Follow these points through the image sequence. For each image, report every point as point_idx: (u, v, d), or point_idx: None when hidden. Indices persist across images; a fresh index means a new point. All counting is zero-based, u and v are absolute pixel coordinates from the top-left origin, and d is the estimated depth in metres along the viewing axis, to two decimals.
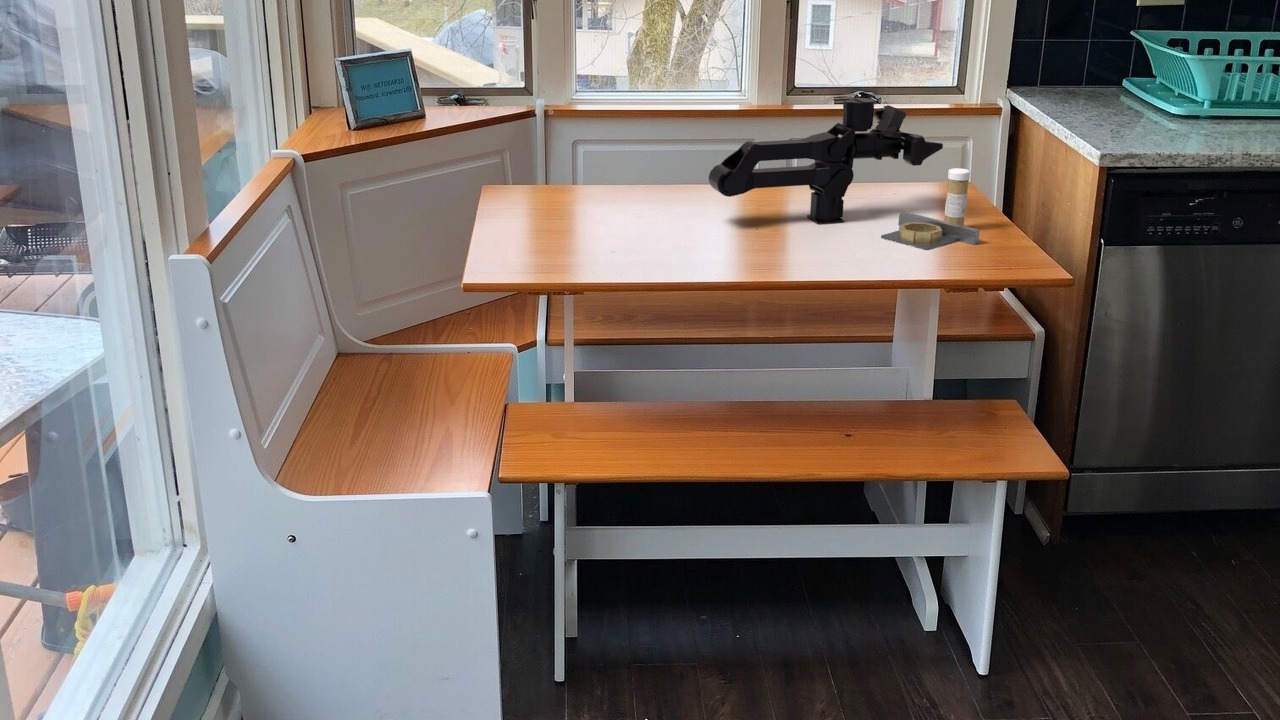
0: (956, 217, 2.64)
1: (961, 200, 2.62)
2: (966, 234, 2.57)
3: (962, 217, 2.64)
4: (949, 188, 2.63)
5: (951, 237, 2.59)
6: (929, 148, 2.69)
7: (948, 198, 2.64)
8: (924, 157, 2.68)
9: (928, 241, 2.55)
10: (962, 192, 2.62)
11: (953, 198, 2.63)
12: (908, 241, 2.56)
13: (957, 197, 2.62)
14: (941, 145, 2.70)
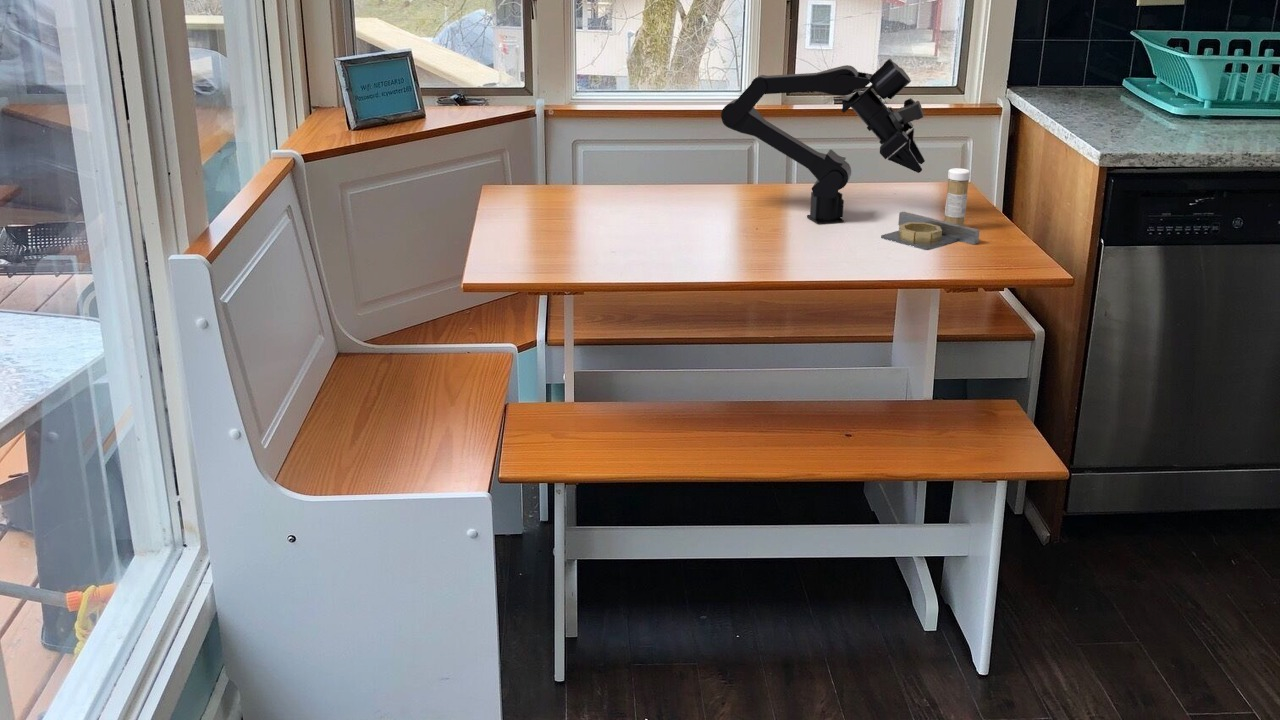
0: (956, 217, 2.64)
1: (961, 200, 2.62)
2: (966, 234, 2.57)
3: (962, 217, 2.64)
4: (949, 188, 2.63)
5: (951, 237, 2.59)
6: (907, 159, 2.59)
7: (948, 198, 2.64)
8: (896, 161, 2.59)
9: (928, 241, 2.55)
10: (962, 192, 2.62)
11: (953, 198, 2.63)
12: (908, 241, 2.56)
13: (957, 197, 2.62)
14: (919, 169, 2.60)
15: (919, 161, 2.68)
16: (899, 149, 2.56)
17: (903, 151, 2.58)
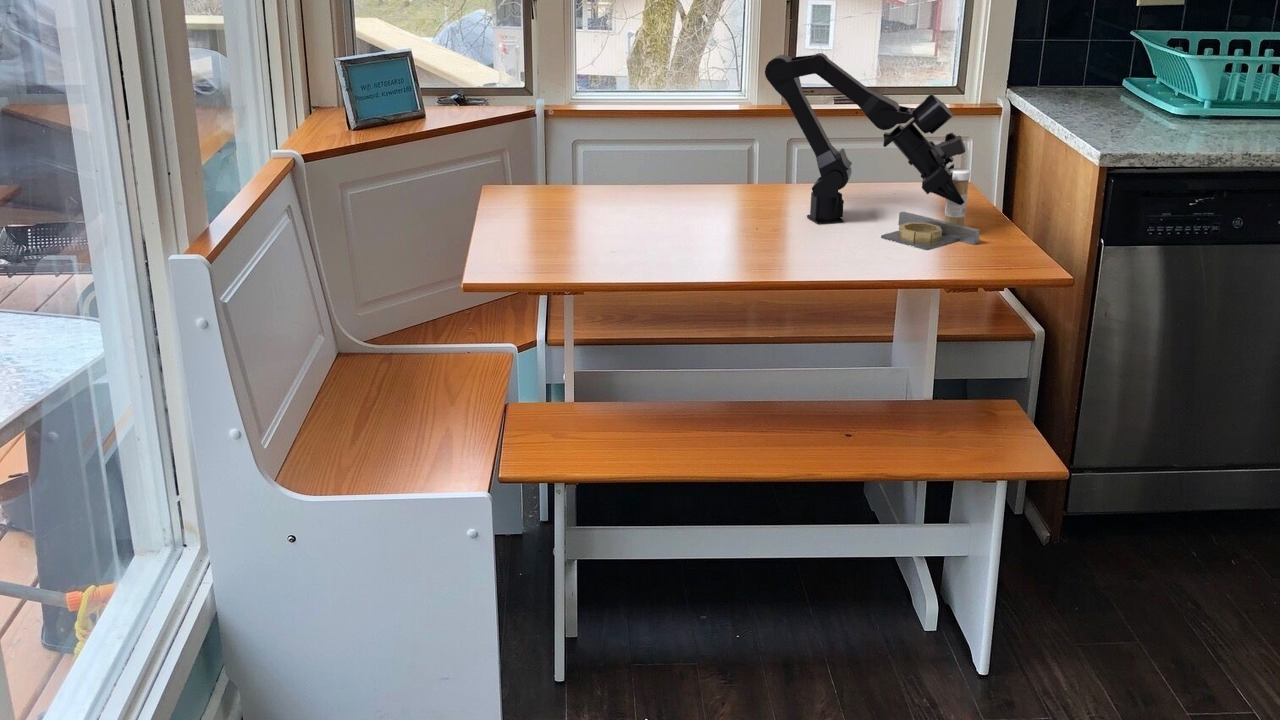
0: (956, 217, 2.64)
1: None
2: (966, 234, 2.57)
3: (962, 217, 2.64)
4: None
5: (951, 237, 2.59)
6: (950, 192, 2.61)
7: None
8: (939, 193, 2.61)
9: (928, 241, 2.55)
10: (962, 192, 2.62)
11: None
12: (908, 241, 2.56)
13: None
14: (961, 201, 2.62)
15: None
16: None
17: (945, 184, 2.61)
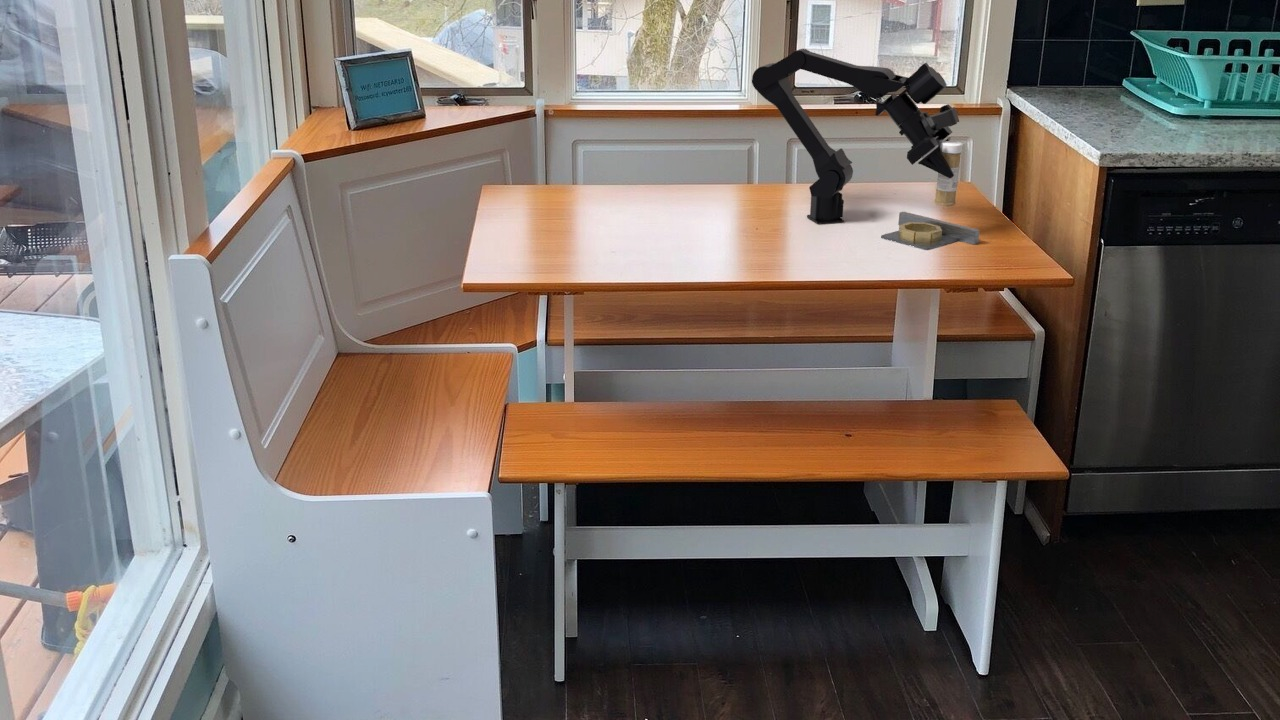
0: (946, 191, 2.58)
1: None
2: (966, 234, 2.57)
3: (953, 191, 2.59)
4: None
5: (951, 237, 2.59)
6: (939, 164, 2.56)
7: None
8: (927, 165, 2.56)
9: (928, 241, 2.55)
10: (953, 165, 2.56)
11: None
12: (908, 241, 2.56)
13: None
14: (951, 175, 2.56)
15: None
16: (929, 153, 2.53)
17: (935, 155, 2.55)
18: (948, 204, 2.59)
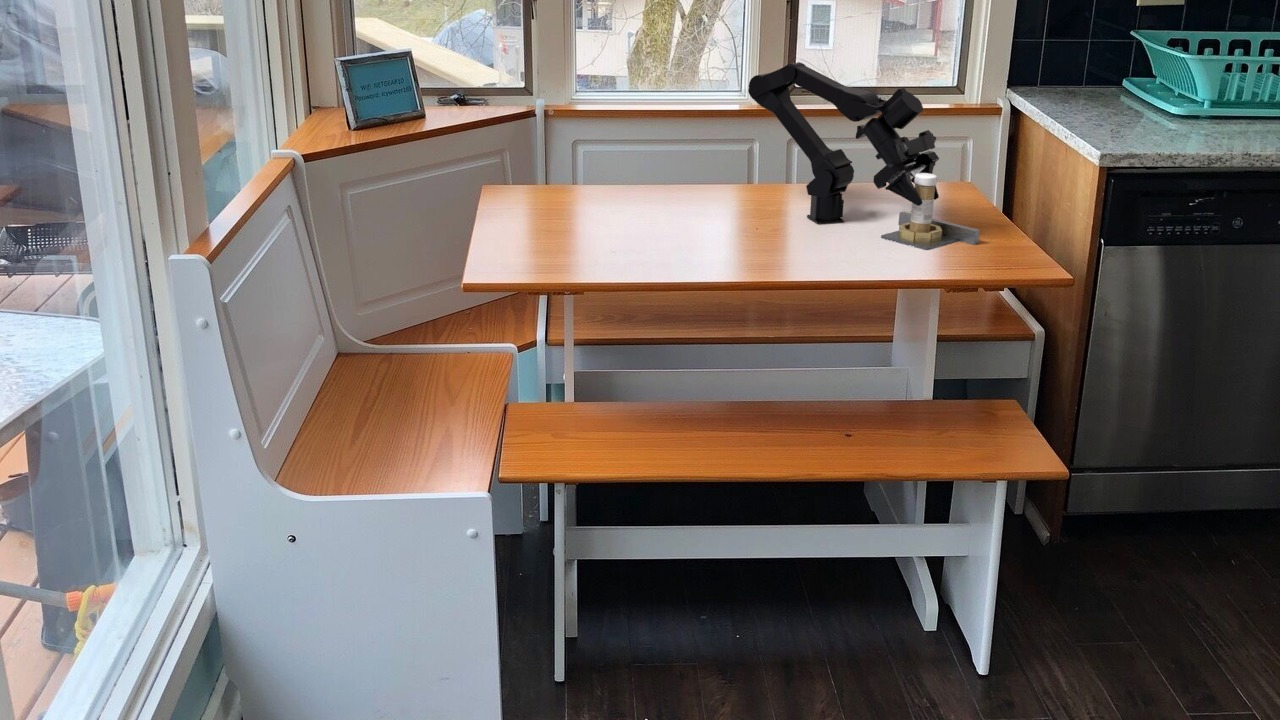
0: (917, 222, 2.57)
1: (923, 205, 2.55)
2: (966, 234, 2.57)
3: (924, 224, 2.56)
4: None
5: (951, 237, 2.59)
6: (906, 191, 2.53)
7: None
8: (895, 191, 2.54)
9: (928, 241, 2.55)
10: (924, 197, 2.54)
11: None
12: (908, 241, 2.56)
13: None
14: (919, 202, 2.53)
15: None
16: (895, 179, 2.52)
17: (903, 182, 2.53)
18: None
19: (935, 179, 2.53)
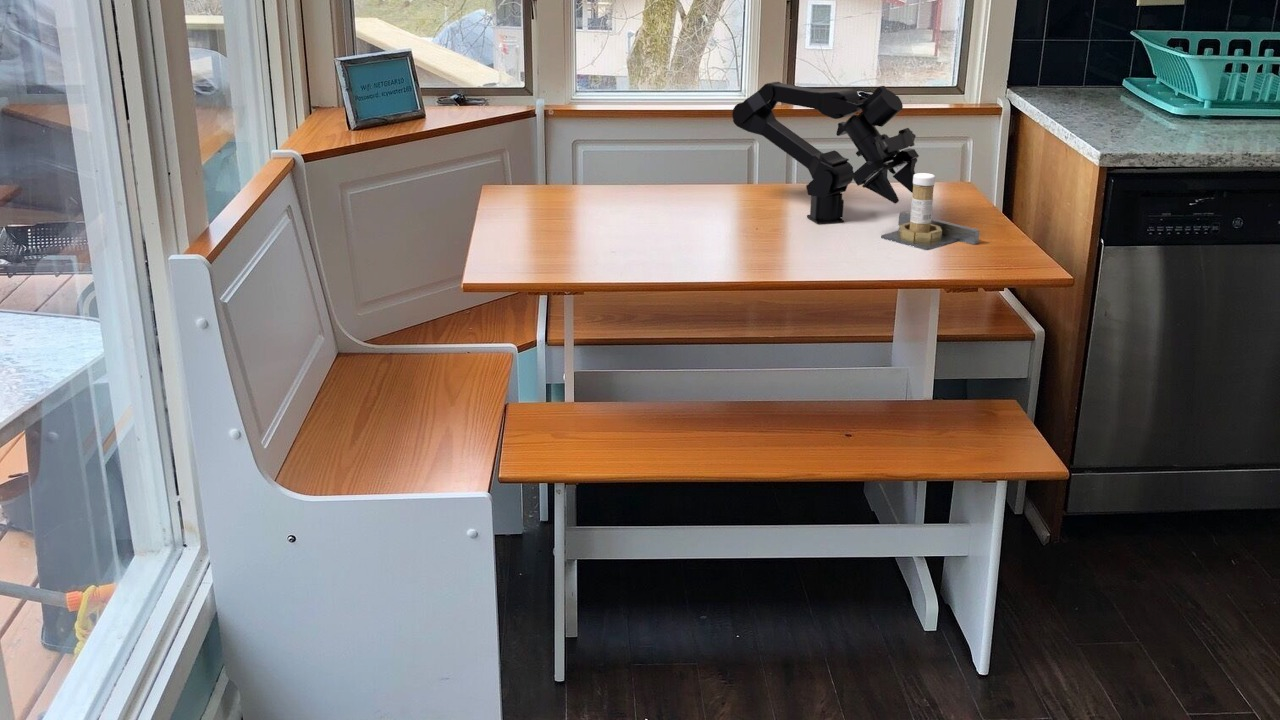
0: (916, 223, 2.57)
1: (922, 205, 2.55)
2: (966, 234, 2.57)
3: (924, 224, 2.57)
4: None
5: (951, 237, 2.59)
6: (883, 188, 2.55)
7: (911, 203, 2.57)
8: (872, 189, 2.56)
9: (928, 241, 2.55)
10: (923, 197, 2.54)
11: (914, 203, 2.56)
12: (908, 241, 2.56)
13: (918, 202, 2.55)
14: (896, 200, 2.55)
15: None
16: (871, 177, 2.54)
17: (880, 180, 2.55)
18: None
19: (933, 179, 2.54)
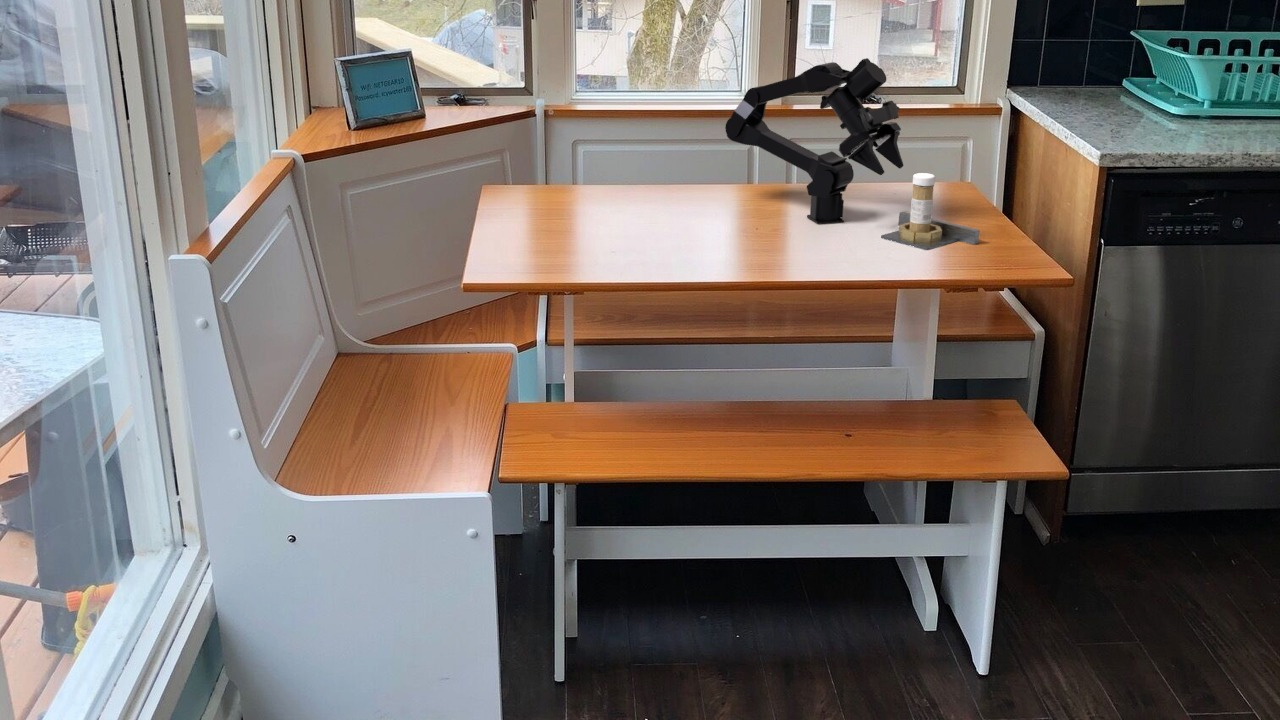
0: (916, 223, 2.57)
1: (922, 206, 2.55)
2: (966, 234, 2.57)
3: (924, 224, 2.57)
4: None
5: (951, 237, 2.59)
6: (869, 160, 2.56)
7: (911, 203, 2.57)
8: (858, 160, 2.57)
9: (928, 241, 2.55)
10: (923, 198, 2.54)
11: (914, 203, 2.56)
12: (908, 241, 2.56)
13: (918, 202, 2.55)
14: (881, 172, 2.56)
15: (898, 165, 2.64)
16: (858, 148, 2.55)
17: (865, 151, 2.56)
18: None
19: (933, 179, 2.53)
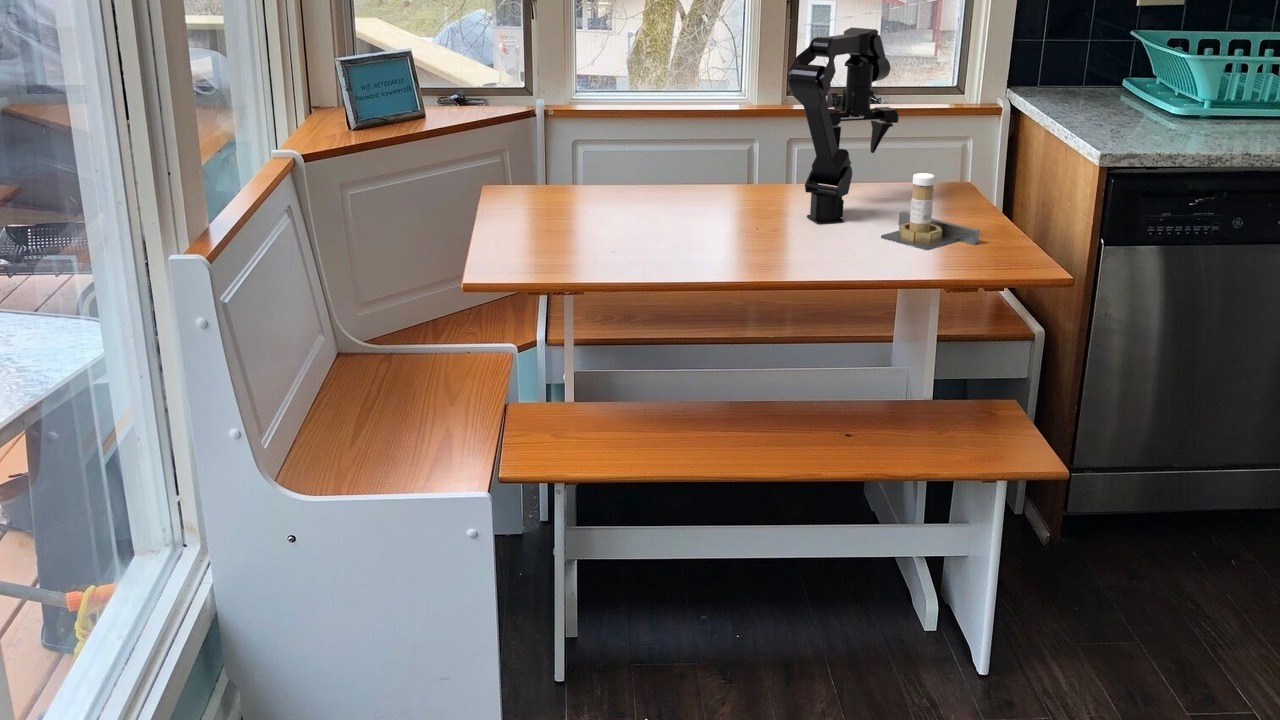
0: (916, 223, 2.57)
1: (922, 206, 2.55)
2: (966, 234, 2.57)
3: (924, 224, 2.57)
4: None
5: (951, 237, 2.59)
6: None
7: (911, 203, 2.57)
8: None
9: (928, 241, 2.55)
10: (923, 198, 2.54)
11: (914, 203, 2.56)
12: (908, 241, 2.56)
13: (918, 202, 2.55)
14: None
15: None
16: None
17: None
18: None
19: (933, 179, 2.53)
